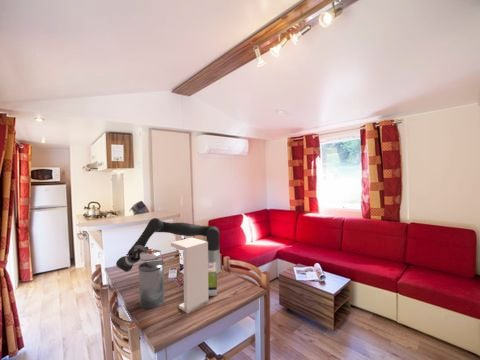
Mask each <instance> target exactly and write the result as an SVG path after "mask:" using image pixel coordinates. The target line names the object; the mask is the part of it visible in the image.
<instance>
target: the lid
mask: <svg viewBox="0 0 480 360" xmlns="http://www.w3.org/2000/svg"><path fill="white" fill-rule="evenodd" d="M146 247H147V246H145V247H144V246H141V245H137V246H134V251H135V250H138V249H139V248H141V252H140V253H139V254H140V260H139V261H143V262H146V261H152V260H156V259H159V258H160V257H162V251H161V250H159V249H153V248H149V247H148V248H146Z"/></svg>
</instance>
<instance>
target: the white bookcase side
mask: <svg viewBox="0 0 480 360" xmlns="http://www.w3.org/2000/svg"><path fill="white" fill-rule="evenodd" d="M170 247H173V248H175V249H177V250H181V251H183V252H182V253H183V255H182V256H183V260H182V261H183V267H182V268H183V302H182V303H180V304H178V308H179V309H180V310H181V311H183V312H185V313H186V314H190V313H191V312H193V311H196V310H197V309H199V308H201V307H203V306H204V305H207V304H208V303H209V297H210V296H208V242H207V241H205V240H203V239H198V238H196V237H193V236H190V237H188V238H185V239H180V240H176V241H171V242H170Z"/></svg>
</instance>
